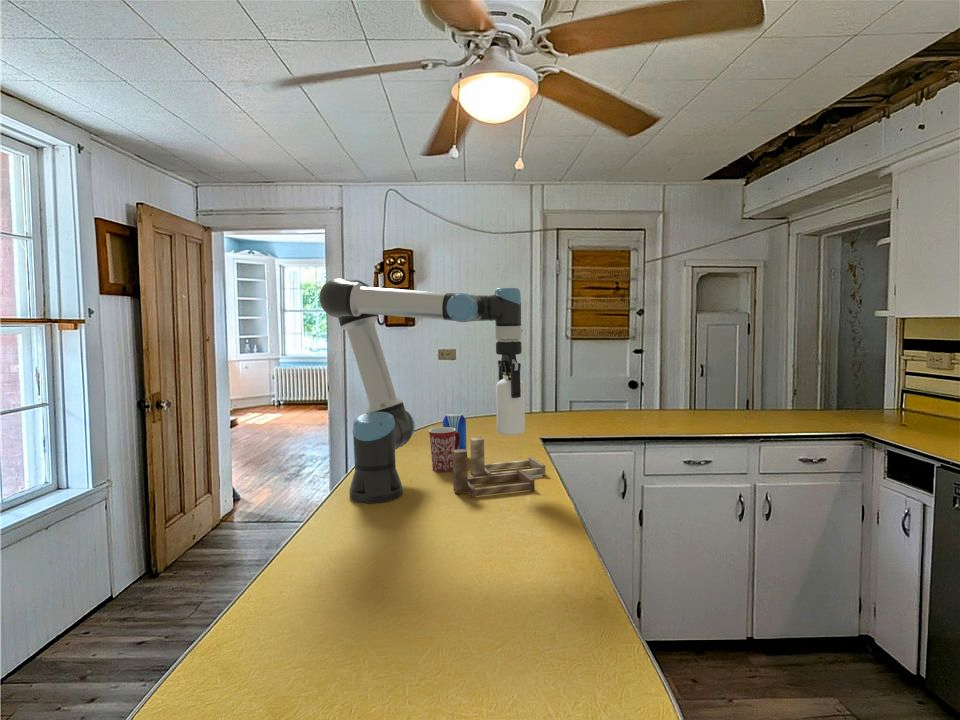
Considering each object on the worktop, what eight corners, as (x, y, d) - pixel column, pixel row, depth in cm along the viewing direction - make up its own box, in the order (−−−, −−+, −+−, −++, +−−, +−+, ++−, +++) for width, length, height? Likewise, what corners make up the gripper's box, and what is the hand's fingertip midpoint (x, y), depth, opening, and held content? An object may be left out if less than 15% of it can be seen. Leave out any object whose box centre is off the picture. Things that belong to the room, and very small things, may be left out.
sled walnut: (459, 498, 159) (458, 456, 158) (450, 486, 171) (449, 446, 170) (534, 489, 165) (534, 449, 164) (520, 478, 177) (519, 440, 176)
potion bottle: (514, 437, 162) (513, 374, 160) (491, 433, 167) (490, 372, 165) (530, 432, 168) (529, 371, 167) (507, 428, 173) (506, 370, 172)
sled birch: (477, 481, 175) (476, 443, 174) (467, 471, 186) (466, 435, 185) (545, 474, 181) (545, 437, 180) (531, 465, 192) (531, 430, 191)
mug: (443, 474, 185) (442, 433, 184) (424, 469, 191) (423, 430, 190) (469, 466, 195) (468, 427, 194) (450, 462, 201) (449, 424, 200)
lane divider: (494, 482, 175) (494, 479, 175) (493, 481, 176) (493, 479, 176) (542, 477, 179) (542, 474, 179) (541, 476, 180) (541, 474, 180)
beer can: (466, 460, 203) (465, 416, 202) (442, 460, 203) (441, 416, 202) (467, 454, 211) (466, 412, 210) (444, 454, 211) (443, 412, 210)
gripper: (531, 341, 159) (532, 423, 160) (510, 339, 176) (511, 413, 178) (506, 342, 157) (507, 425, 158) (487, 340, 174) (488, 414, 176)
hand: (509, 418), depth 168 cm, fingers open, 5 cm apart
